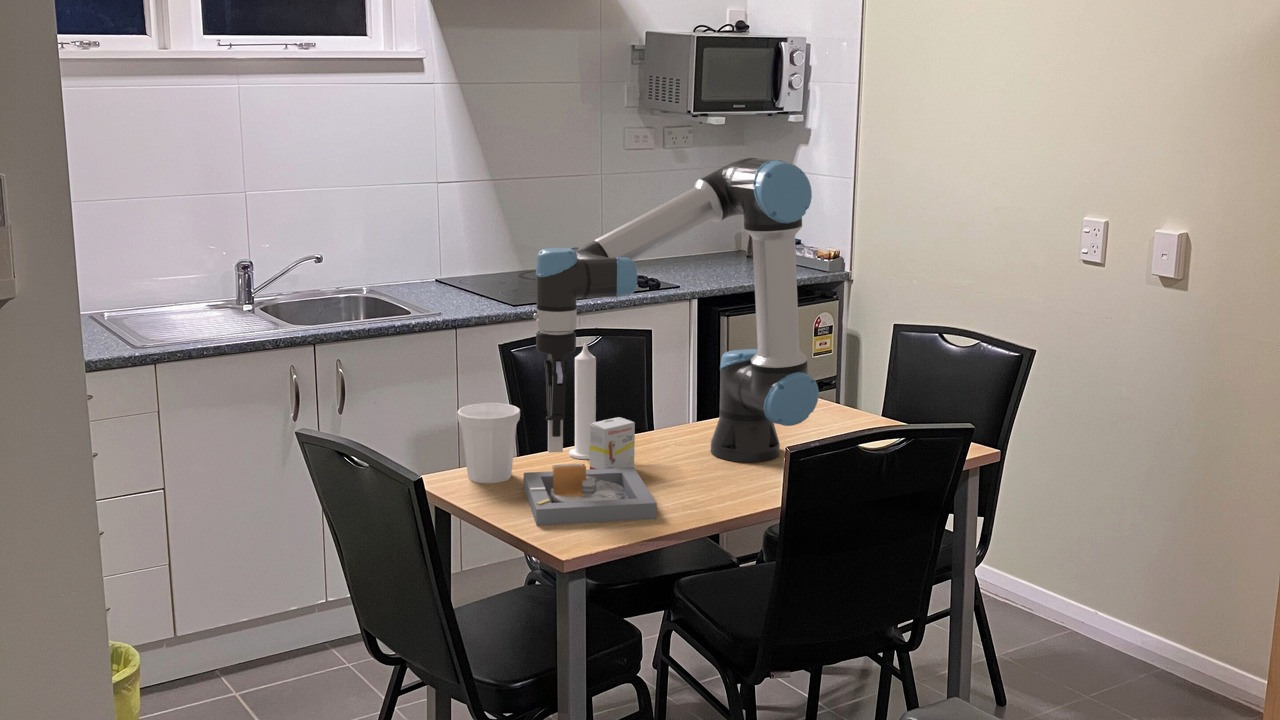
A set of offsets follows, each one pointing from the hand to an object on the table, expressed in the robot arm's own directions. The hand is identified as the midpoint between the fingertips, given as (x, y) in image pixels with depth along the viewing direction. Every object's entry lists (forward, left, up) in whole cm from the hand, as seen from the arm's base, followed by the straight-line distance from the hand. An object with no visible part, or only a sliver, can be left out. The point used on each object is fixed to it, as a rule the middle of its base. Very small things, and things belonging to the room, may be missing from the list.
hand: (555, 451), depth 240 cm
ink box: (-13, -12, -10) cm, 21 cm away
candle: (-10, -29, -10) cm, 32 cm away
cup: (+12, -12, -10) cm, 20 cm away
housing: (-5, +7, -10) cm, 13 cm away
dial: (-5, +7, -8) cm, 12 cm away
